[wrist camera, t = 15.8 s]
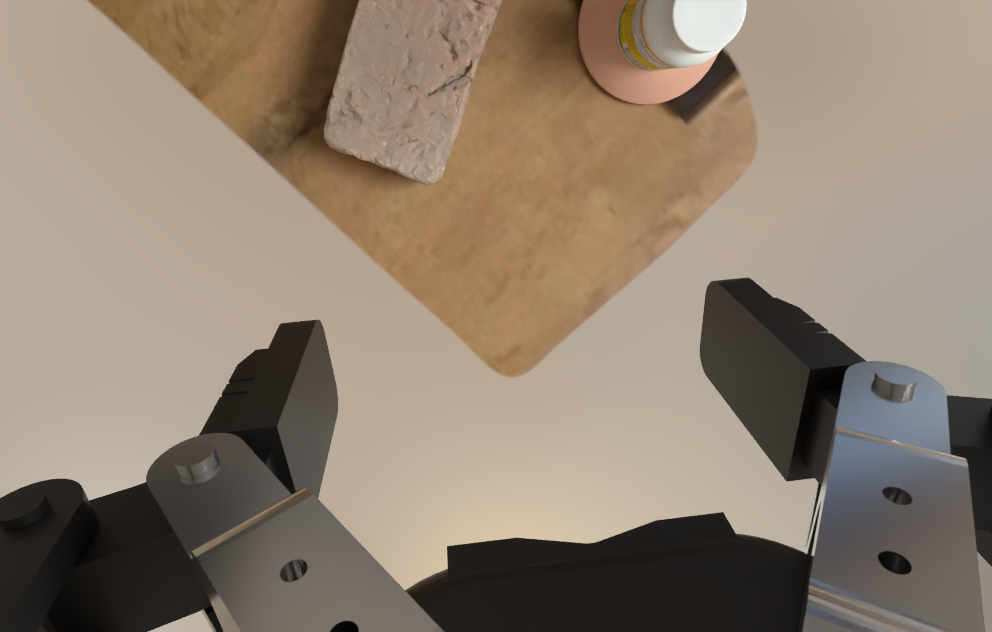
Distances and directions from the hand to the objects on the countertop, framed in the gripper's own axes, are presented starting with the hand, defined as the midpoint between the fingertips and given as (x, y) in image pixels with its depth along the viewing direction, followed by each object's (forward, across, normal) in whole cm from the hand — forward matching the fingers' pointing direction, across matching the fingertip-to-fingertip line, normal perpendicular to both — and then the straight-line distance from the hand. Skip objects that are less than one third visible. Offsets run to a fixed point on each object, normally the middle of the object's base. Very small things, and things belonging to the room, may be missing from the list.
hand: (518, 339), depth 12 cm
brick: (+34, +2, -4) cm, 35 cm away
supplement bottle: (+33, -14, -4) cm, 36 cm away
